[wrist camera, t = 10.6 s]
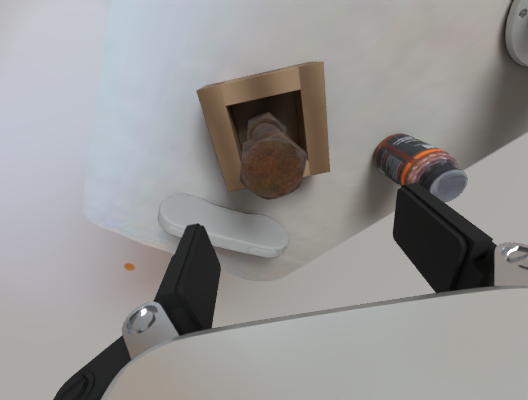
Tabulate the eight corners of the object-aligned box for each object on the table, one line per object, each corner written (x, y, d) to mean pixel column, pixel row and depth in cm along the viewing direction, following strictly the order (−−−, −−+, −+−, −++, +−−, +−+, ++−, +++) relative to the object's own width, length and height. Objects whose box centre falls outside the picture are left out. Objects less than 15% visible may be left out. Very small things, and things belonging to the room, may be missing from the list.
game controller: (167, 200, 37) (147, 234, 30) (169, 188, 36) (149, 220, 29) (280, 230, 41) (287, 266, 34) (286, 220, 40) (293, 255, 33)
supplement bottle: (378, 177, 37) (424, 219, 27) (367, 145, 34) (414, 178, 24) (416, 159, 36) (479, 196, 26) (408, 124, 33) (476, 150, 23)
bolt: (278, 149, 33) (296, 205, 20) (242, 144, 32) (237, 199, 20) (286, 105, 30) (313, 138, 17) (247, 99, 30) (244, 129, 17)
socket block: (310, 61, 28) (323, 61, 23) (318, 155, 34) (329, 171, 29) (205, 85, 29) (196, 90, 24) (231, 172, 35) (228, 192, 30)
